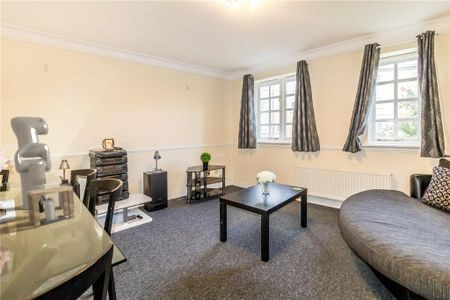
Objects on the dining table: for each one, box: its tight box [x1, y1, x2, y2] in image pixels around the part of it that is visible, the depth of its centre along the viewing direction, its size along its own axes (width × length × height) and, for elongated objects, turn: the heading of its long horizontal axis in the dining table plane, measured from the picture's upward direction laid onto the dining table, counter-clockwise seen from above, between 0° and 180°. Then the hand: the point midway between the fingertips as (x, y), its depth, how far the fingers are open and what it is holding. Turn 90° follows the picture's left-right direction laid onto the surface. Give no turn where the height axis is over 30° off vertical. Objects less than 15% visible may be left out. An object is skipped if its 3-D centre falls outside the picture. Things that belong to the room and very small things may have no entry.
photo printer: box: [44, 197, 57, 222], centre depth 132 cm, size 10×4×12 cm, turn 39°
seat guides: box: [40, 214, 67, 226], centre depth 131 cm, size 8×11×2 cm
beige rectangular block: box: [57, 178, 75, 210], centre depth 157 cm, size 7×7×18 cm
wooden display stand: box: [27, 185, 75, 229], centre depth 130 cm, size 9×18×18 cm, turn 145°
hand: (40, 212), depth 141 cm, fingers closed
